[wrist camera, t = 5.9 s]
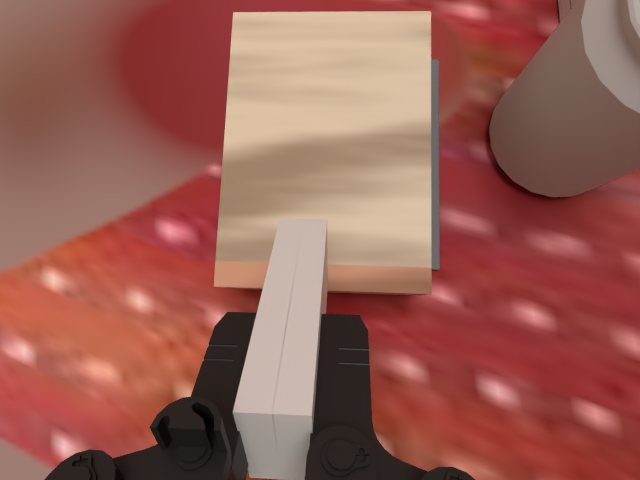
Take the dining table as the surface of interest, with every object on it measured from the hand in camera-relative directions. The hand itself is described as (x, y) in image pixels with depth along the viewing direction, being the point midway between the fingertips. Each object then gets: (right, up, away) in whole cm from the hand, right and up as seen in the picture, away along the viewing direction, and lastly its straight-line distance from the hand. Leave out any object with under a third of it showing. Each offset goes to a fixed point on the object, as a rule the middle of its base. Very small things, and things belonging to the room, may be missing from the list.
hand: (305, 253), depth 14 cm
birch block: (+1, -2, +8) cm, 8 cm away
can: (+14, +6, +11) cm, 19 cm away
